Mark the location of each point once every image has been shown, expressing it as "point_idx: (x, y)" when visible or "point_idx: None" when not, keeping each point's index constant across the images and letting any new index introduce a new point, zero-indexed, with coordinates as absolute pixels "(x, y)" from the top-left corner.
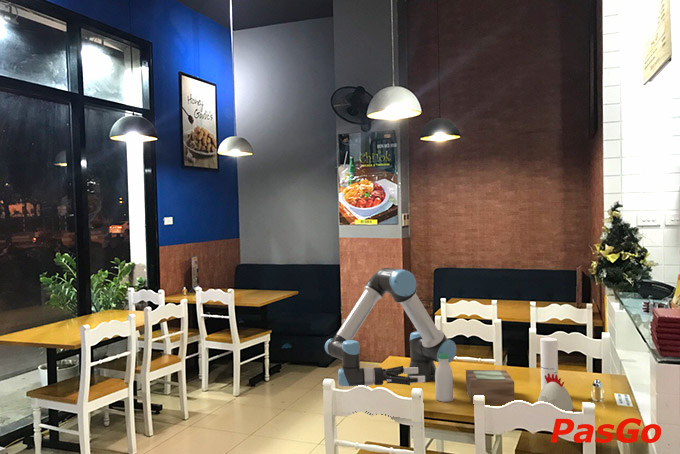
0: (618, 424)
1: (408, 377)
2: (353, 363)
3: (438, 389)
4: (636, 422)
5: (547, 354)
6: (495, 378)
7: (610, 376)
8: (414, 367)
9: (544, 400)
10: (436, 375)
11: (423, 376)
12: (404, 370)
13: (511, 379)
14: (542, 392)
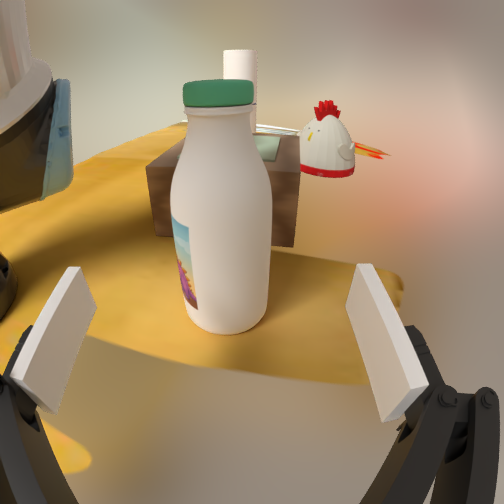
0: (367, 151)
1: (453, 399)
2: None
3: (252, 287)
4: (355, 143)
5: (254, 76)
6: (272, 142)
7: (181, 125)
8: (60, 288)
9: (346, 151)
10: (235, 224)
11: (376, 273)
12: (38, 391)
13: (277, 135)
14: (332, 139)
